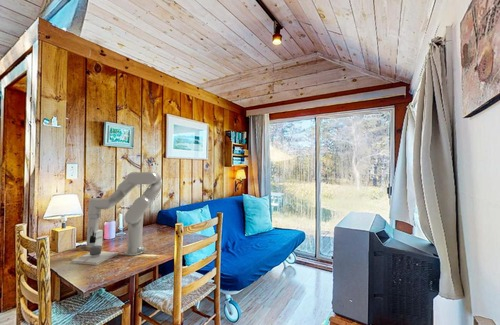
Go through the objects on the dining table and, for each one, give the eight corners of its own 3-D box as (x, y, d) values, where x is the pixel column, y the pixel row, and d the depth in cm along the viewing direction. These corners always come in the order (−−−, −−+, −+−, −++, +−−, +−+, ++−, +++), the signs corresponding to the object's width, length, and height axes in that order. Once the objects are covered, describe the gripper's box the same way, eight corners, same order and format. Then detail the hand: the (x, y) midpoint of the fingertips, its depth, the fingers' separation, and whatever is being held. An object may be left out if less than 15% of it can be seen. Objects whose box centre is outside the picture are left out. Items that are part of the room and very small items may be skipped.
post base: (117, 254, 163) (117, 250, 163) (95, 265, 145) (95, 260, 145) (93, 252, 166) (93, 248, 166) (68, 263, 148) (68, 258, 148)
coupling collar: (103, 252, 159) (103, 245, 159) (95, 255, 152) (96, 249, 152) (83, 250, 161) (84, 244, 161) (75, 253, 155) (75, 247, 155)
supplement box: (94, 249, 173) (95, 232, 173) (86, 248, 175) (86, 231, 175) (102, 246, 180) (103, 229, 181) (94, 245, 182) (95, 229, 182)
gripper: (90, 214, 169) (89, 239, 168) (84, 218, 155) (82, 246, 154) (102, 213, 172) (101, 239, 171) (97, 218, 158) (96, 245, 157)
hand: (92, 242), depth 163 cm, fingers closed
